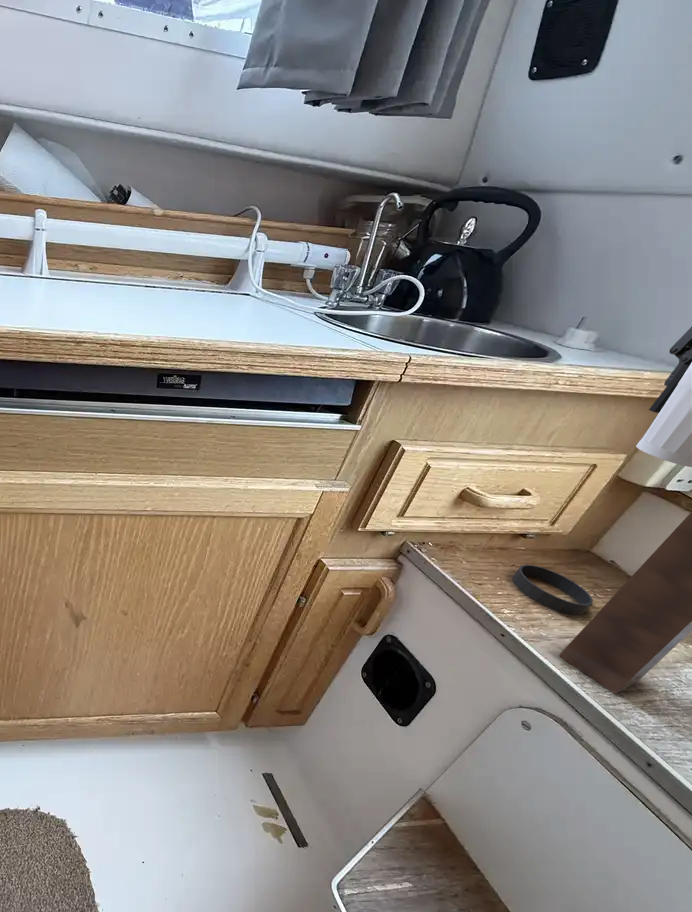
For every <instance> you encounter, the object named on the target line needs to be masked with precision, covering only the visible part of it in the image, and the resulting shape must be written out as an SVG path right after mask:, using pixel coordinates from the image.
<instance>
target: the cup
mask: <svg viewBox="0 0 692 912" xmlns="http://www.w3.org/2000/svg"><path fill="white" fill-rule="evenodd" d="M635 447H636V448H637V449H638V450H639V451H641V452H643V453H646V454H648V455H649V456H652V457H655V458H658V459H660V460H662V461H666V462H669V463H672V464H674V465H675V464H676V465H679V466H683V467H687V468H688V467H689V468H692V363H691V364H690V366H689V367H688V369H687V370H686V372H685V374H684V375H683V377H682V378H681V380H680V381H679V383H678V385H677V387H676V388H675V390H674V391H673V393H672V394H671V396H670V397H669V399H668V400H667V402H666V403H665V405H664V406H663V408H662V409H661V411H660V412H659V413H657V415H656V417H655V419H654V420H653V422H652V423H651V424H650V425H649V428H648V429H647V430H646V432H645V433H644V435H643V436H642V438H641V439H640V440H639V441H638V443H637V444H636V445H635Z"/></svg>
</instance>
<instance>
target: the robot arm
mask: <svg viewBox="0 0 692 912" xmlns="http://www.w3.org/2000/svg"><path fill="white" fill-rule="evenodd" d="M668 353H669V354H670V355H672V356H673V355H674V356H675V357H676V358H677V359H678V363H677V365H676V366H675V367H674V369H673V370H672V371H671V373H670V374H669V376H668V377H667V378H666V380H665V381H664V383H663V386H665V388H664V389H663V391H662V392H661V393H660V394H659V396H658V397H657V399H656V400H654V402H653V404H652V405H651V406H650V407H649V409H648V411H650V412H652V413H656V414H659V412H660V411H661V409H662V408H663V406H664V405H665V403H666V402H667V400H668V399H669V397H670V396H671V394H672V393H673V391H674V390H675V388H676V387H677V385H678V383H679V381H680V380H681V378H682V377H683V375H684V374H685V372H686V370H687V369H688V367H689V366H690V364H691V363H692V326H690V327H689V329H688V330H687V331H685V333H683V334H682V336H681V337H679V339H678V340H676V341H675V343H674V344H673V345H672V346H671V347H670V348H669V352H668Z"/></svg>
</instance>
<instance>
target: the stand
mask: <svg viewBox="0 0 692 912" xmlns="http://www.w3.org/2000/svg"><path fill="white" fill-rule="evenodd" d="M691 632H692V511H691V512H690V513H689V514H687V516H686V517H685V518H684V519H683V520H682V521H681V522H680V523H679V525H678V526H677V527H675V529H674V530H673V531H672V532H671V533H670V534H669V535H668V537H666V539H664V541H663V542H661V544H660V545H659V546H658V547H657V548H656V549H655V551H654V552H653V553H652V554H651V555H650V556H649V557H648V558H647V559H646V560H645V561H644V562H643V563H642V565H641V566H640V567H639V568H638V569H637V570H636V571H635V572H634V574H632V575H631V576H630V577H629V579H628V580H627V581H626V582H625V583H624V584H623V585H622V586H621V587H620V588H619V589H618V591H616V593H614V595H612V597H611V598H610V599H609V600H608V601H607V602H606V603H605V604H604V606H603V607H602V608H601V609H600V610H599V611H598V612H597V613H596V614H595V615H594V616H593V617H592V618H591V619H590V620H589V621H588V622H587V624H586V625H585V626H584V627H583V628H582V629H581V631H580V632H579V633H578V634H577V635H575V637H574V638H572V640H571V641H570V642H569V643H568V644H567V646H566V647H565V648H564V649H563V650H562V651H561V652H560V653H559V654H558V656H559V657H560V658H561V659H563V660H564V661H566V662H567V663H569V664H570V665H571V666H574V667H575V668H576V669H578V670H579V671H580V672H582V673H584V674H585V675H587V677H589V678H591V679H592V680H594V681H595V682H597V683H598V684H600V685H601V686H603V688H606V689H607V690H609V691H610V692H612V693H613V694H615V695H616V694H618V693H619V692H621V691H623V690H626V689H627V688H628V687H631V686H632V685H634V684H637V683H638V682H639V681H640V680H641V679H642V678H643V677H644V676H646V675H647V673H648V672H650V670H652V669H653V668H654V667H655V666H656V665H657V664H659V662H660V661H661V660H662V659H663V658H665V657H666V656H667V655H668V654H669V653H670V652H671V651H672V650H673V649H674V648H676V646H677V645H679V644H680V643H681V642H682V640H684V639H685V638H686V637H687V636H688V635H689V634H690V633H691Z"/></svg>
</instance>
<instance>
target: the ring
mask: <svg viewBox="0 0 692 912" xmlns="http://www.w3.org/2000/svg"><path fill="white" fill-rule="evenodd" d="M527 577H531V578H536V579H539V580H541V581H544V582H545V583H547V584H550V585H552V586H554V587H556V588H558V589H560V590H561V591H563V592H565V593H566V594H568V595H569V596H570V597H572V598H573V600H575V601H576V602H577V603H576V602H574V601H573V602H572V601H568V600H566V599H563V598H560V597H558V596H556V595H554V594H552V593H550V592H548V591H546V590H544V589H542V588H541V587H539V586H537V585H536V584H535V583H533V582H532V581H531V580H530V579H529V578H527ZM511 579H512V582H513V584H514V585H515V586H516V588H517V589H518V590H520V591H521V592H522V593H523V594H524V595H525V596H528V597H529V598H530V599H532V600H533V601H535V602H537V603H538V604H541V605H543V606H544V607H546V608H548V609H551V610H554V611H556V612H559V613H562V614H565V615H569V616H581V615H583V614H585V613H586V612H587V610H588V609H589V608H590V607H591V606H592V605H593V603H594V599H593V597H592V595H591V594H590V593H589V592H588V591H587V590H585V589H584V588H583V586H581V585H579V584H578V583H577V582H575V581H573V580H572V579H570V578H568V577H566V576H564V575H562V574H561V573H558V572H556V571H554V570H552V569H551V570H550V569H549V568H546V567H543V566H538V565H534V564H522V565H520V566H519V567H518V569H517V570H516V571H515V573H514V574H513V575H512V577H511Z"/></svg>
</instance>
